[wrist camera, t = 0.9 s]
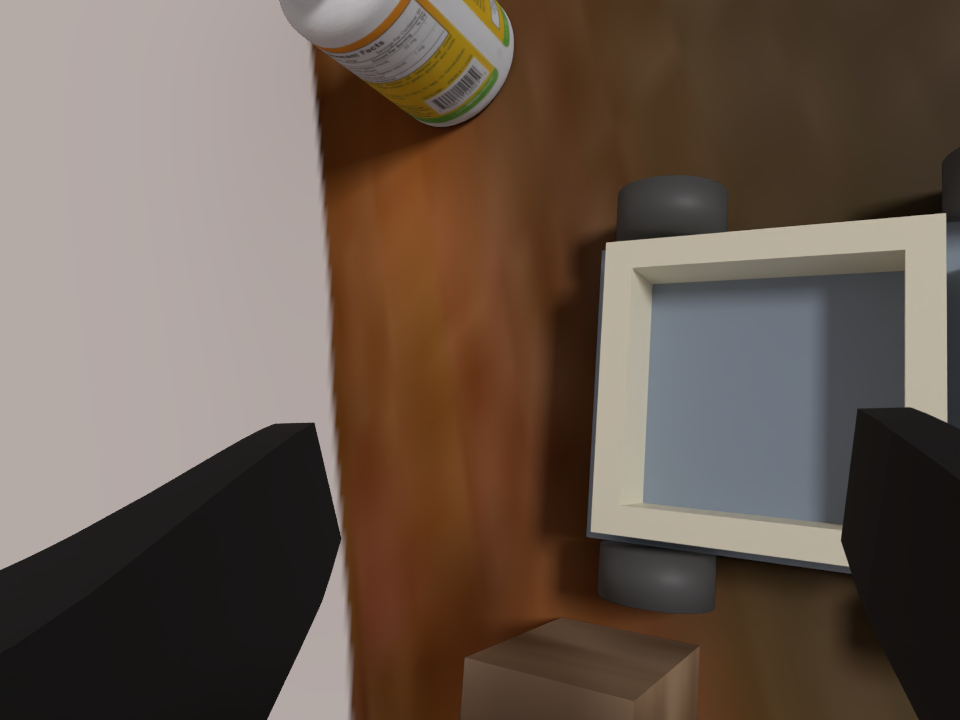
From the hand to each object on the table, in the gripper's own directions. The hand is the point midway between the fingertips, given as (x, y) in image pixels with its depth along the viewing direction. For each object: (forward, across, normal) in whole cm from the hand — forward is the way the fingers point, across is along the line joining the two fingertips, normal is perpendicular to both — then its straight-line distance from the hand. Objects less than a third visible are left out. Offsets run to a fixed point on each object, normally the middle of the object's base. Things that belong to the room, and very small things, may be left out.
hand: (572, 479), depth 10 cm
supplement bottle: (+22, +5, -5) cm, 23 cm away
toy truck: (+10, -7, +5) cm, 13 cm away
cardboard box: (+7, -1, +13) cm, 15 cm away
